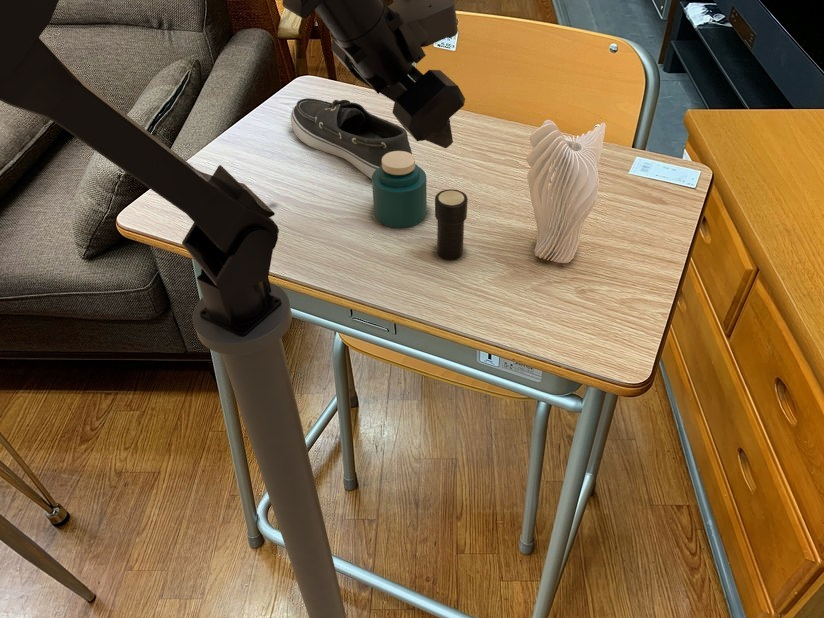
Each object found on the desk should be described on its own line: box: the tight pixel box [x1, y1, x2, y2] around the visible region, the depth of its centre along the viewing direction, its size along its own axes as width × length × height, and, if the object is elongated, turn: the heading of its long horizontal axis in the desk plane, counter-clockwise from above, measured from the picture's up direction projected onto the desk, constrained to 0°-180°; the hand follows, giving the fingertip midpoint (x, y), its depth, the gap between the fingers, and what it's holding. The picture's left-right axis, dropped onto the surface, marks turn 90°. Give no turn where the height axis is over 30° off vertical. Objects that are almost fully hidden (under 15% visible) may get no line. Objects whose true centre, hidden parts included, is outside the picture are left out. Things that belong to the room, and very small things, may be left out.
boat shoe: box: [290, 97, 413, 180], centre depth 97 cm, size 9×26×7 cm, turn 46°
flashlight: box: [434, 188, 469, 261], centre depth 80 cm, size 4×4×8 cm
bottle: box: [371, 151, 428, 229], centre depth 86 cm, size 7×7×8 cm
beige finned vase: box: [526, 119, 607, 264], centre depth 77 cm, size 8×8×18 cm
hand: (428, 124), depth 75 cm, fingers open, 9 cm apart
